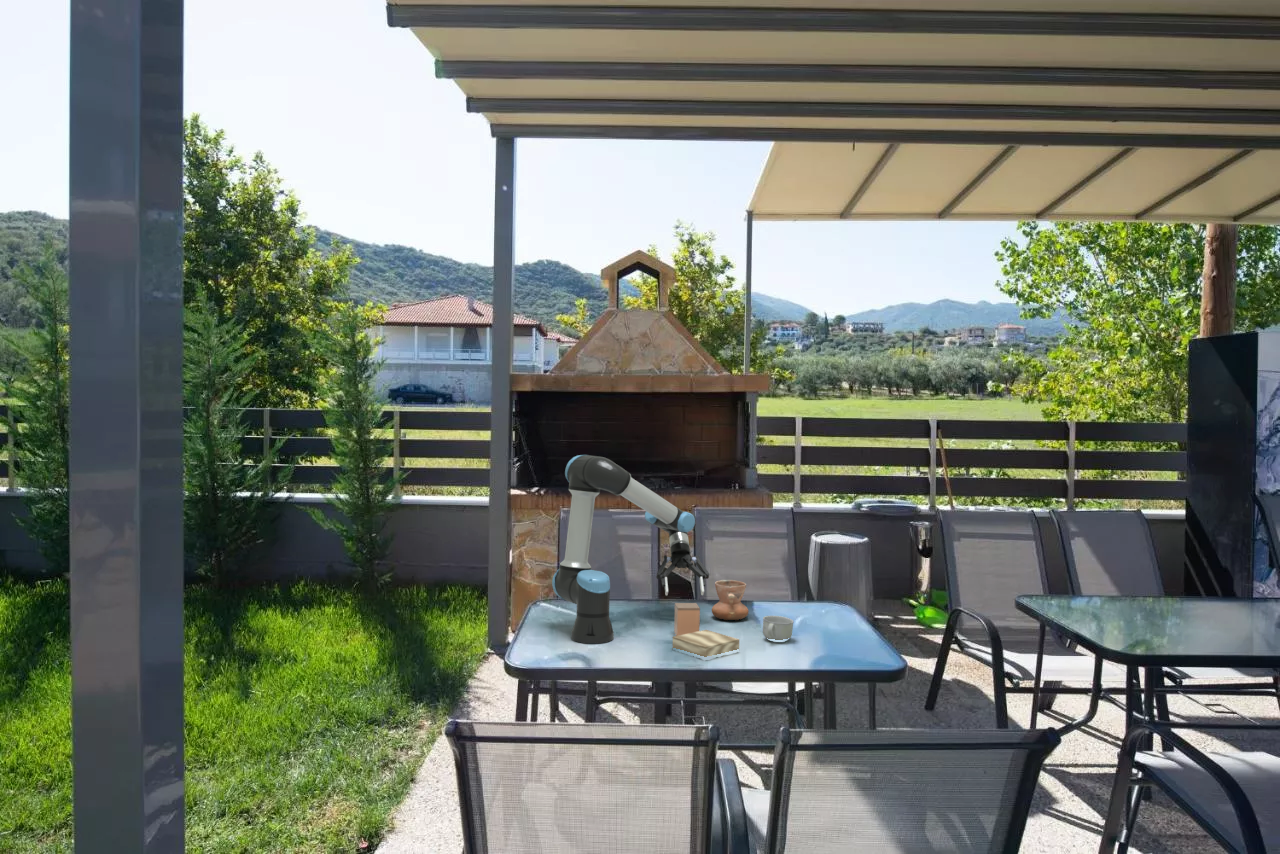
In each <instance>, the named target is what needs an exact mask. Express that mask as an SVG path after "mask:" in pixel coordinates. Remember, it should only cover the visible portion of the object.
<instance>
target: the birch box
mask: <svg viewBox="0 0 1280 854" xmlns="http://www.w3.org/2000/svg"><path fill="white" fill-rule="evenodd" d="M673 648H676V649H680V650H684V651H687V652H690V653H694V654H697V655H700V656H704V657H707V656H712V655H717V654H721V653H725V652H729V651H733V650H737V649H739V650H740V638H736V637H733V636H728V635H726V634H723V633H718V632H716V631H712V630H709V629H704V630H702V629H701V630H699V631H698V632H693V633H688V634H683V635H679V636H676V635H674V636H672V649H673Z"/></svg>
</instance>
